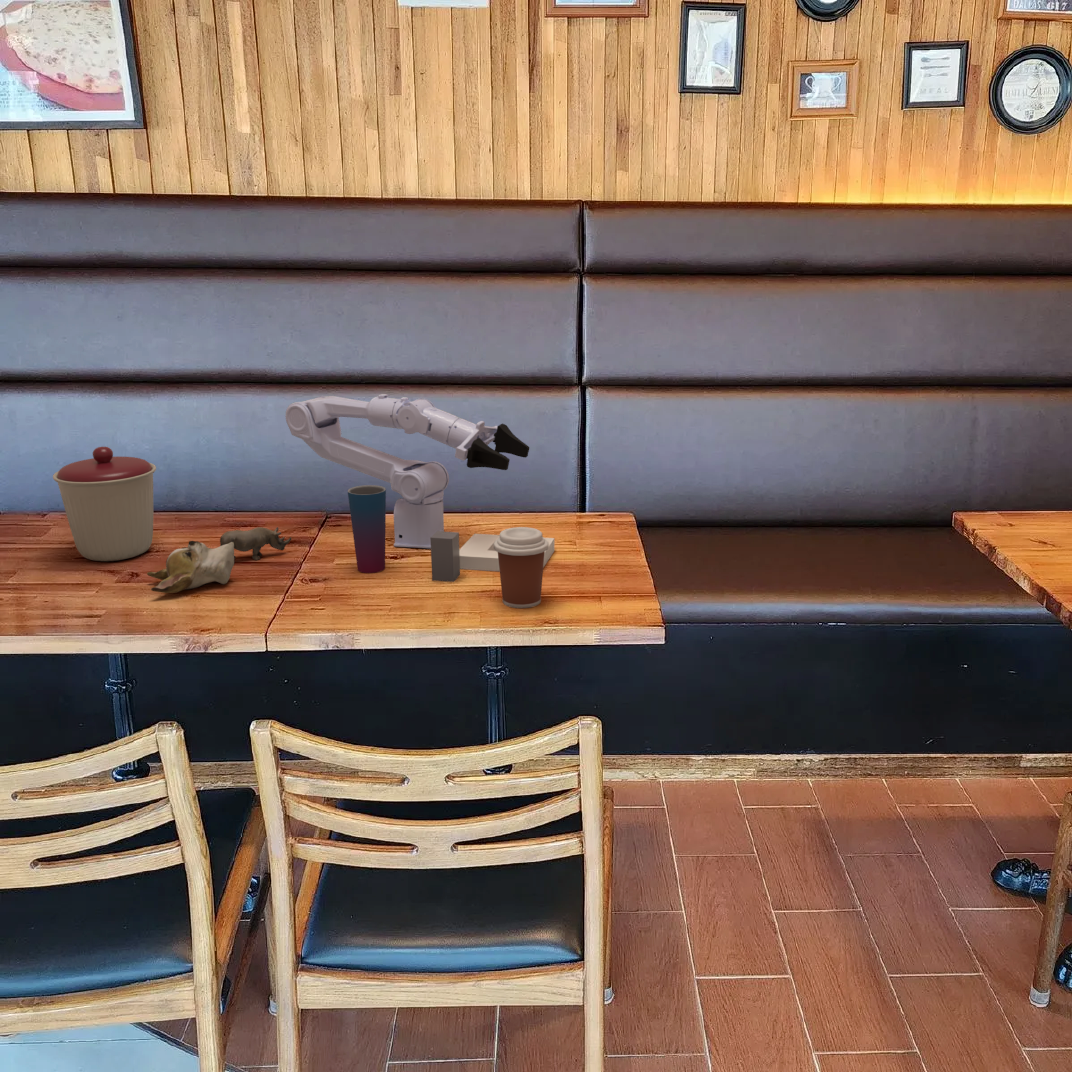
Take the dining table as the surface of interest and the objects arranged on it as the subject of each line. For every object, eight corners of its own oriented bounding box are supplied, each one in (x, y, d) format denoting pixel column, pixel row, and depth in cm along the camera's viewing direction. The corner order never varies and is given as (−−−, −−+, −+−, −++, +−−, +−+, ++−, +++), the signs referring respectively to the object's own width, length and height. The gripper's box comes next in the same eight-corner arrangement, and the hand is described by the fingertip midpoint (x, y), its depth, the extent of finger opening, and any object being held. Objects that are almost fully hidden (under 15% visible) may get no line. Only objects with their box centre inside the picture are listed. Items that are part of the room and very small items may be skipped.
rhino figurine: (295, 556, 193) (292, 526, 191) (220, 565, 188) (217, 535, 186) (290, 550, 197) (288, 520, 195) (218, 559, 191) (214, 529, 190)
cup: (397, 565, 187) (393, 487, 183) (376, 576, 181) (372, 496, 177) (366, 560, 190) (361, 483, 185) (345, 571, 184) (339, 492, 180)
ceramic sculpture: (236, 541, 173) (144, 558, 167) (244, 588, 176) (154, 606, 170) (227, 526, 182) (140, 541, 177) (235, 571, 185) (149, 587, 179)
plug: (432, 580, 179) (430, 537, 177) (438, 573, 183) (437, 531, 181) (453, 582, 178) (452, 538, 176) (460, 574, 182) (458, 532, 180)
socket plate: (454, 568, 185) (453, 555, 185) (474, 545, 198) (474, 533, 198) (539, 574, 182) (539, 560, 181) (554, 550, 195) (554, 538, 194)
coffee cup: (509, 615, 163) (508, 544, 160) (485, 597, 171) (484, 529, 167) (558, 605, 167) (558, 536, 164) (533, 588, 175) (532, 522, 171)
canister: (43, 562, 191) (26, 453, 184) (115, 535, 207) (101, 434, 200) (118, 573, 184) (102, 460, 178) (185, 545, 200) (173, 441, 194)
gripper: (438, 424, 183) (502, 450, 178) (479, 403, 194) (540, 428, 190) (432, 458, 186) (495, 485, 182) (473, 436, 198) (533, 461, 193)
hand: (518, 458), depth 186 cm, fingers open, 7 cm apart
